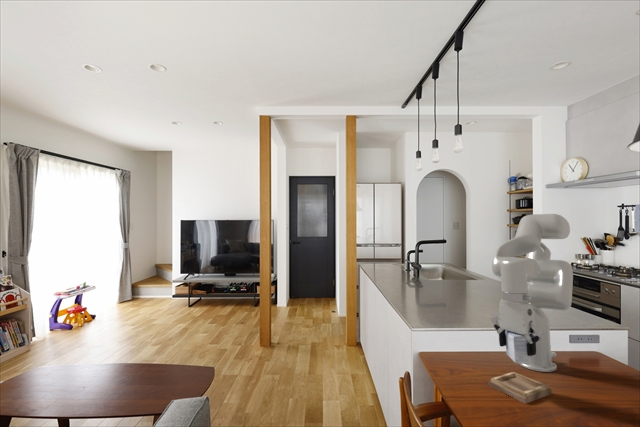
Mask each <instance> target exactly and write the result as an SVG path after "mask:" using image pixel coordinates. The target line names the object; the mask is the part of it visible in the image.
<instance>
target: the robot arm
mask: <svg viewBox="0 0 640 427" xmlns="http://www.w3.org/2000/svg"><path fill="white" fill-rule="evenodd" d="M570 231H571V227H570V224H569V221H568V220H567V218H565V217H564V216H562V215H560V214H557V213H542V214H541V213H539V214H538V213H537V214H535V213H534V214H527V215H525V216H523V217H522V218H521V219H520V221H519V223H518V226H517V230H516V232H515V235H514V237H513V238H510V239H509V240H507V241H505V242H504V243H502V244H501V245H499V247H498V248H497V249H496V250H495V254H494V256H493V259H492V263H491V269H492V270H491V271H492V272H493V275H494V276H495V277H498V278H500V284H501V286H500V288H501V299H500V300H499V304H498V305H499V306H498V316H495V317H492V318H491V320H490V321H491V323H492V325H493V327H494V329H495V331H496V333H497V334H498V342H499V343H498V344H499V347H506V336H505V330H507V331H510V332H514V333H517V334H521V335H524V336H525V337H526V339H527V340H528V342H529V343H527V355H528V356H530V364H519V366H521V367H523V368H525V369H528V370H532V371H537V372H543V373H544V372H545V373H549V372H550V373H552V372H555V371H557V370H558V368H557V364H556V363H555V362H553V360H552V359H553V358H556V357H557V352H555V351H552V350H551V347H552V346H551V329H550V325H551V324H550V320H549V317H548V315H547V314H546V313H545V312H544V310H543V309H545V310H546V309H547V310H554V311H561V312H562V311H568V310H570V308H571V306H572V303H573V302H572V301H573V284H574V283H573V282H574V272H573V267H572V265H571V263H569V262H568V261H565V260H561V259H551V256H552V252H551V249H549V247H547V245H546V244H544V243H543V242H542V240H565V239H567V238H568V237H569V235H570ZM520 256H525V257H520Z"/></svg>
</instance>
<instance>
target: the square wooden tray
mask: <svg viewBox="0 0 640 427" xmlns="http://www.w3.org/2000/svg"><path fill="white" fill-rule="evenodd" d="M487 386H488V387H489V386H490V387H489V388H491V387H492V388H491V389H493V388H494V389H493V390H495V389H496V391H497V390H499V391H498V392H500V391H501V392H500V393H502V392H503V393H502V394H504V393H505V394H504V395H506V394H507V395H506V396H508V395H509V397H510V396H511V397H510V398H512V397H513V398H512V399H514V398H515V399H514V400H516V399H517V401H518V402H521V403H522V404H528V403H531V402H534V401H536V400H540V399H541V398H544V397H548V396H549V395H552V388H550V387H549V385H548V384H545V383H542V382H540V381H538V380H535V379H532V378H530V377H527V376H526V375H523V374H520V373H518V372H515V371H511V372H508V373H505V374H502V375H499V376H495V377H492V378H490V380H489V381H487Z"/></svg>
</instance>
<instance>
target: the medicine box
mask: <svg viewBox="0 0 640 427" xmlns="http://www.w3.org/2000/svg"><path fill="white" fill-rule="evenodd" d="M505 336H506V346H505V351H506V352H505V353H506V355H507V356H508V357H509V359H511V360H512V361H513V362H514V363H515V364H530V356H528V355H527V343H529V342H528V340H527V339H526V337H525V336H524V335H521V334H517V333H514V332H510V331H507V330H505Z"/></svg>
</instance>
